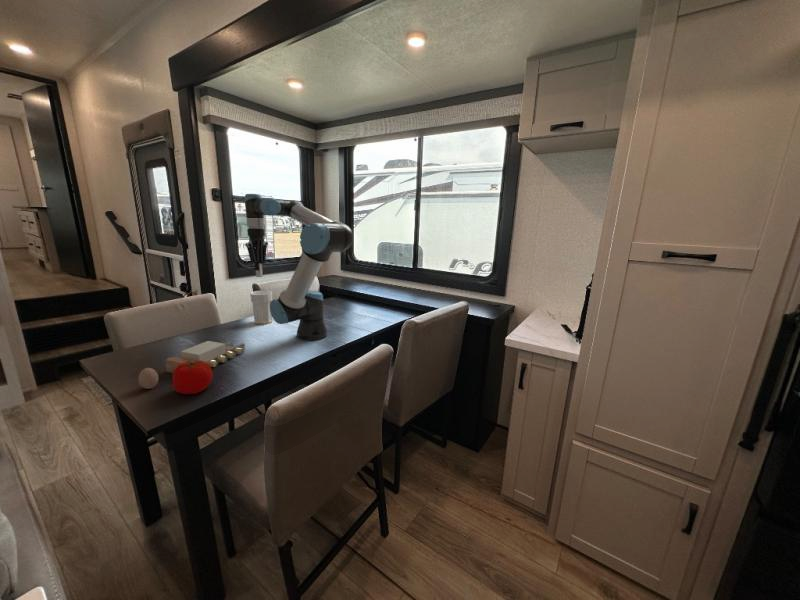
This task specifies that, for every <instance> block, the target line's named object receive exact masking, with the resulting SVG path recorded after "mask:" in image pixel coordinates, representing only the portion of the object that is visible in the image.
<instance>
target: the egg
mask: <svg viewBox="0 0 800 600" xmlns="http://www.w3.org/2000/svg"><path fill="white" fill-rule="evenodd" d="M137 379H138V380H137V381H138V384H139V386H140V387H141V388H143V389H147V390H151V389H153V388H155V386H157V384H158V382H159V374H158V373H157V371H156V370H155V369H153V368H152V367H151V368H150V367H145V368H143V369H142V370H141V371H140V372H139V374H138V378H137Z"/></svg>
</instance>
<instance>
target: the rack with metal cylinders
mask: <svg viewBox="0 0 800 600" xmlns="http://www.w3.org/2000/svg"><path fill="white" fill-rule="evenodd" d="M224 344H225V348H226V353H225V354H223V355H220V356H218V357H216V358H214V359H212V360H209V361H207V362H206V363H207V364H208V365H209V366H210V367H211V368H212V367H214V368H216V367H217V366H218V364H219V363H225V362H227V360H228V359H229V358H231V359H234V358H235V357H236V355H243V354H244V353H245V352H244V351H246V347H245V343H239V344H237V345H235V346H234V342H233V341H228V342H226V343H224ZM188 361H189V362H191V361H192V362H195V361H193V360H188V359H183V358H182V357H177V356H171V357H169V358H166V359H165V365H166V372H167V373H171V374H173V373H174V370H175V369H176V368H177V367H178V366H179V364H182V363H185V362H188Z"/></svg>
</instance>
